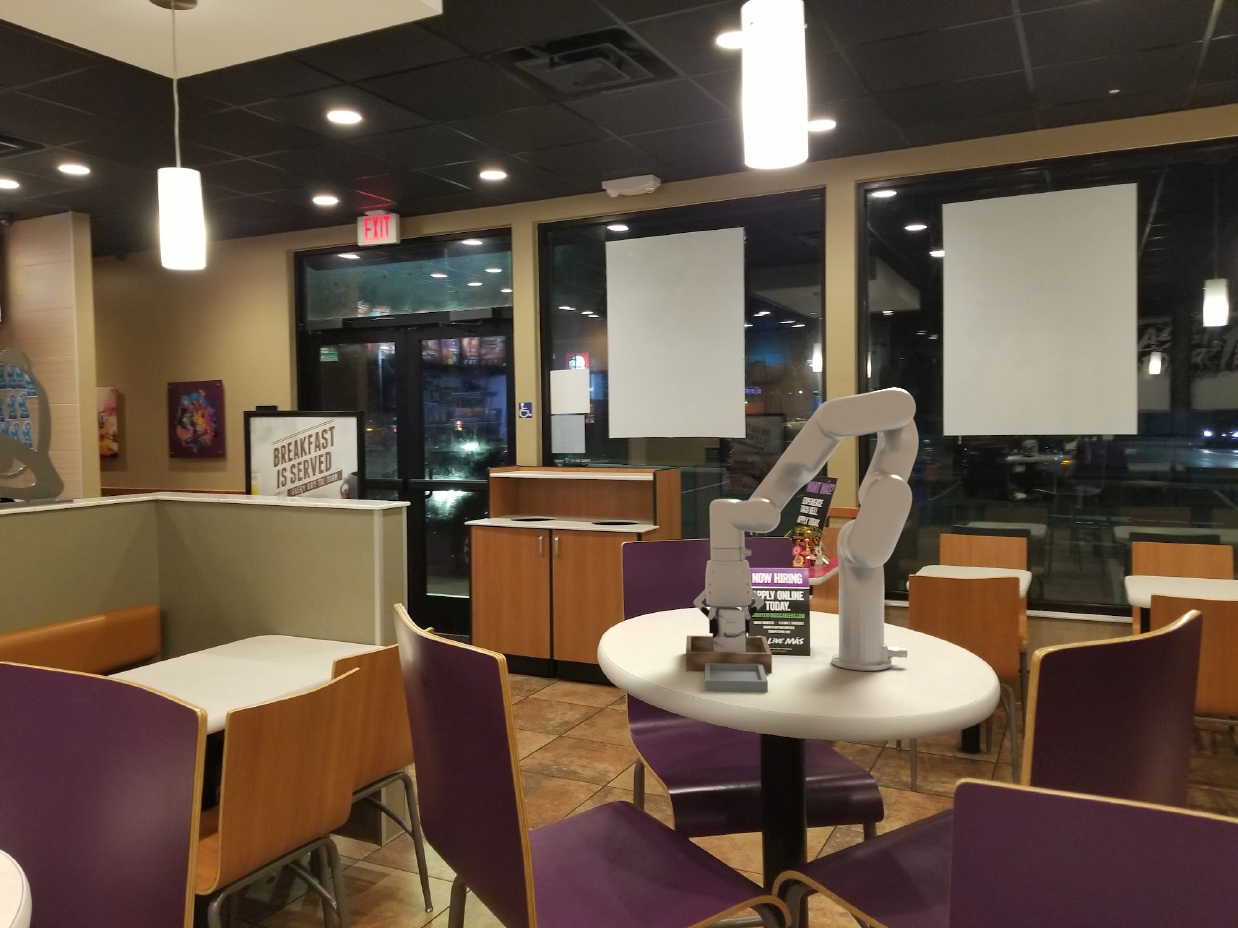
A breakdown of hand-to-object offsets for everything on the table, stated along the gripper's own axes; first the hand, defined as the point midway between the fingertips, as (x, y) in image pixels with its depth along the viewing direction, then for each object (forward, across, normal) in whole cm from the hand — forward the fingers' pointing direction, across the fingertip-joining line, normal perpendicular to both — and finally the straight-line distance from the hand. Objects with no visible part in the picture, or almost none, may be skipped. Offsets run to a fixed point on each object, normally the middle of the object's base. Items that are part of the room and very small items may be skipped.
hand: (729, 635), depth 193 cm
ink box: (+6, 0, 0) cm, 6 cm away
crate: (+6, +1, 0) cm, 6 cm away
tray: (+6, 0, +16) cm, 17 cm away
